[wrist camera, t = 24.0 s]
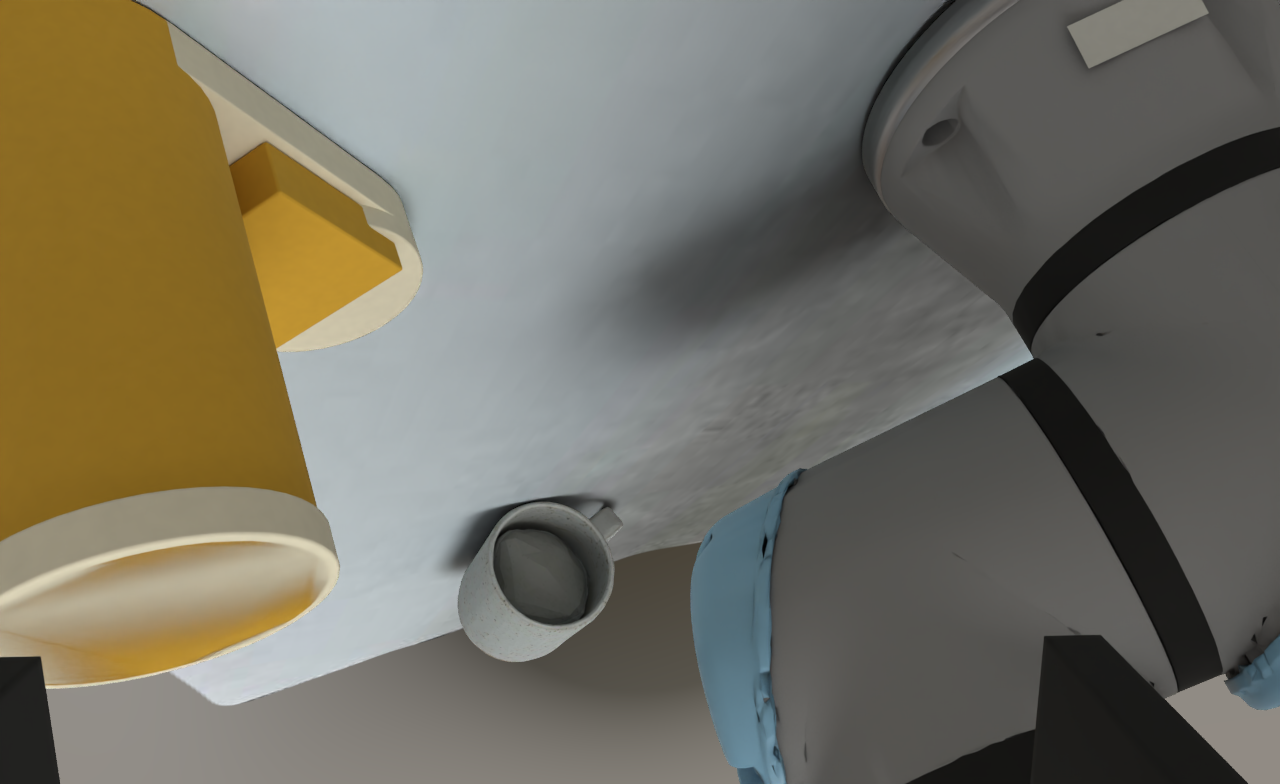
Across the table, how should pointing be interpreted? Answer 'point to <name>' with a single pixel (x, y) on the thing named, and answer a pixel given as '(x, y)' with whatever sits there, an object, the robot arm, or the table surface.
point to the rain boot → (165, 341)
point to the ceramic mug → (537, 580)
